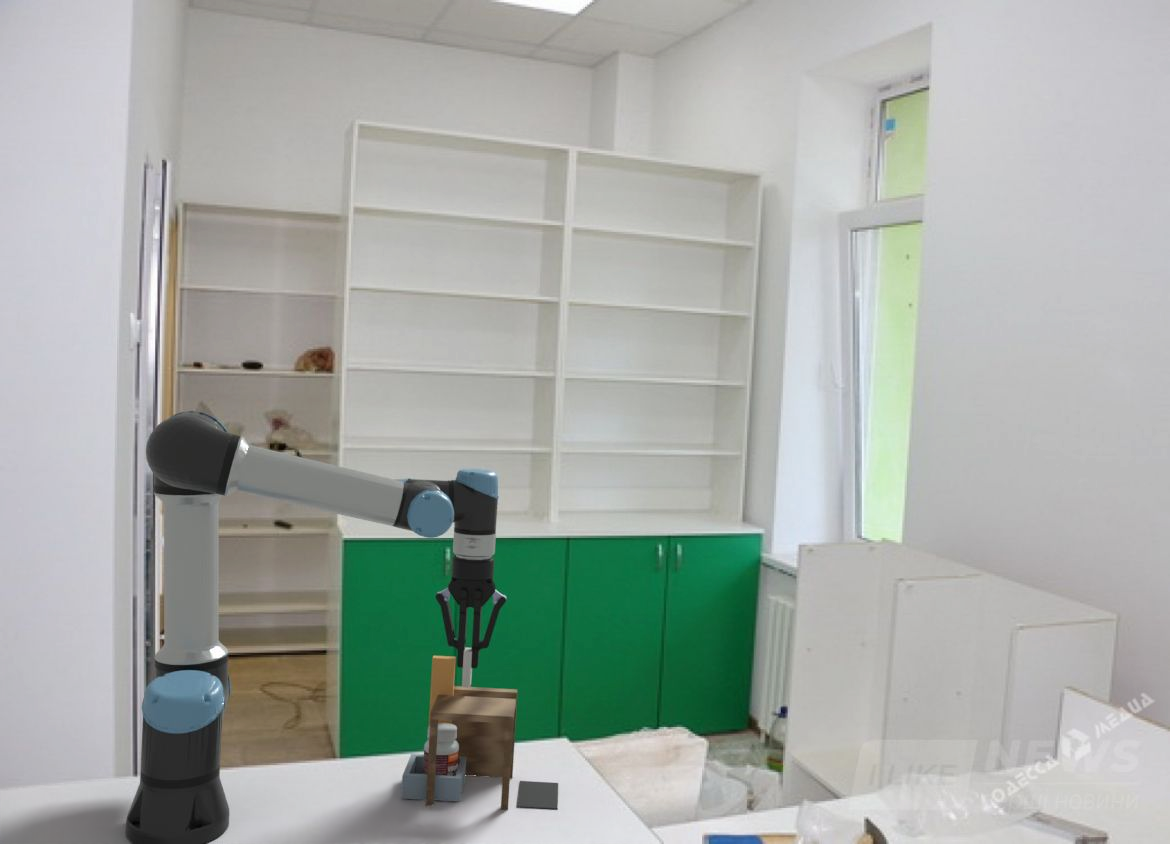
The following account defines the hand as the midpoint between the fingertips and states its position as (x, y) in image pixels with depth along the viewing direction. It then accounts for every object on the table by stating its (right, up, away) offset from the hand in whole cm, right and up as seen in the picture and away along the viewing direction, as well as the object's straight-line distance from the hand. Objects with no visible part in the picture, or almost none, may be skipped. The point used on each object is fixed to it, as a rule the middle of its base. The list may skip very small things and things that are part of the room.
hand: (466, 685), depth 186 cm
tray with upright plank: (-5, -18, -4) cm, 19 cm away
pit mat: (+13, -19, -3) cm, 23 cm away
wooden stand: (+1, -18, -4) cm, 18 cm away
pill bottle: (-4, -18, -4) cm, 19 cm away
